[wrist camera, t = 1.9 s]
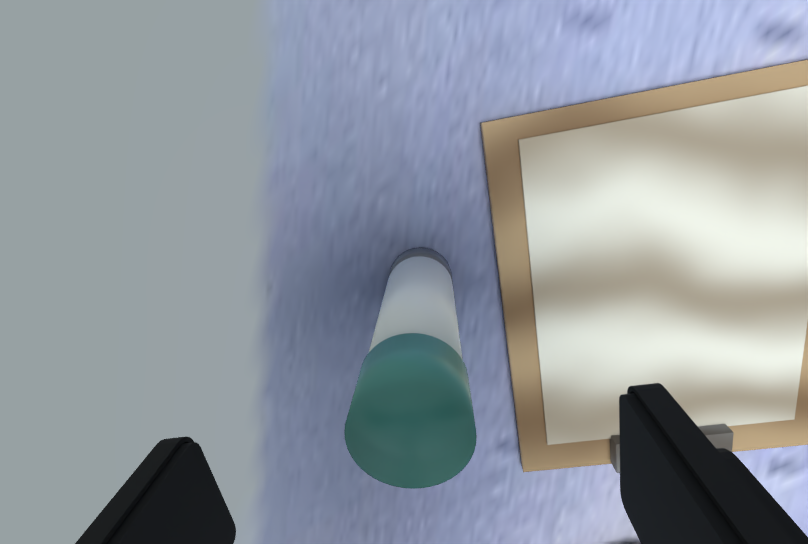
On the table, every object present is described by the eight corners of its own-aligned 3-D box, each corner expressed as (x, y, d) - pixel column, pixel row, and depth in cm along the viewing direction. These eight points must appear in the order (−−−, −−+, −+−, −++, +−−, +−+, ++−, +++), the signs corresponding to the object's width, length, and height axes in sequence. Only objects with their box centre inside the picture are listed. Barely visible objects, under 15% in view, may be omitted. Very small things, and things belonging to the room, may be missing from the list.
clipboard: (807, 436, 24) (831, 455, 23) (521, 464, 26) (526, 484, 24) (865, 48, 18) (903, 41, 16) (480, 122, 20) (484, 123, 18)
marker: (457, 301, 23) (484, 482, 11) (394, 310, 23) (360, 493, 12) (448, 240, 21) (466, 372, 10) (382, 251, 22) (330, 389, 11)
